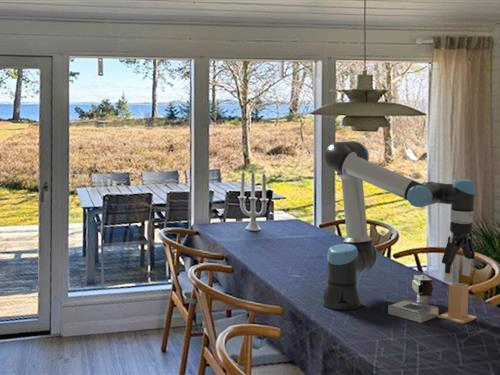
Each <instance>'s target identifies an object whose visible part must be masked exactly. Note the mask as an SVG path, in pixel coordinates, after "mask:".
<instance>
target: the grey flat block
mask: <svg viewBox="0 0 500 375" xmlns="http://www.w3.org/2000/svg"><path fill="white" fill-rule="evenodd" d="M439 310H440V309H439V306H435V305H431V304H428V303H427V304H424V303H420V302H417V300H416V301H415V300H412V299H407V298H404V300H401V301H398V302H396V303H392V304H388V308H387V314H388V315H391V316H395V317H399V318H403V319H406V320H409V321H412V322H417V323H419V324H421V323H424V322H426V321H429V320H431V319H434V318H436V317H438V316H439Z"/></svg>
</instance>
